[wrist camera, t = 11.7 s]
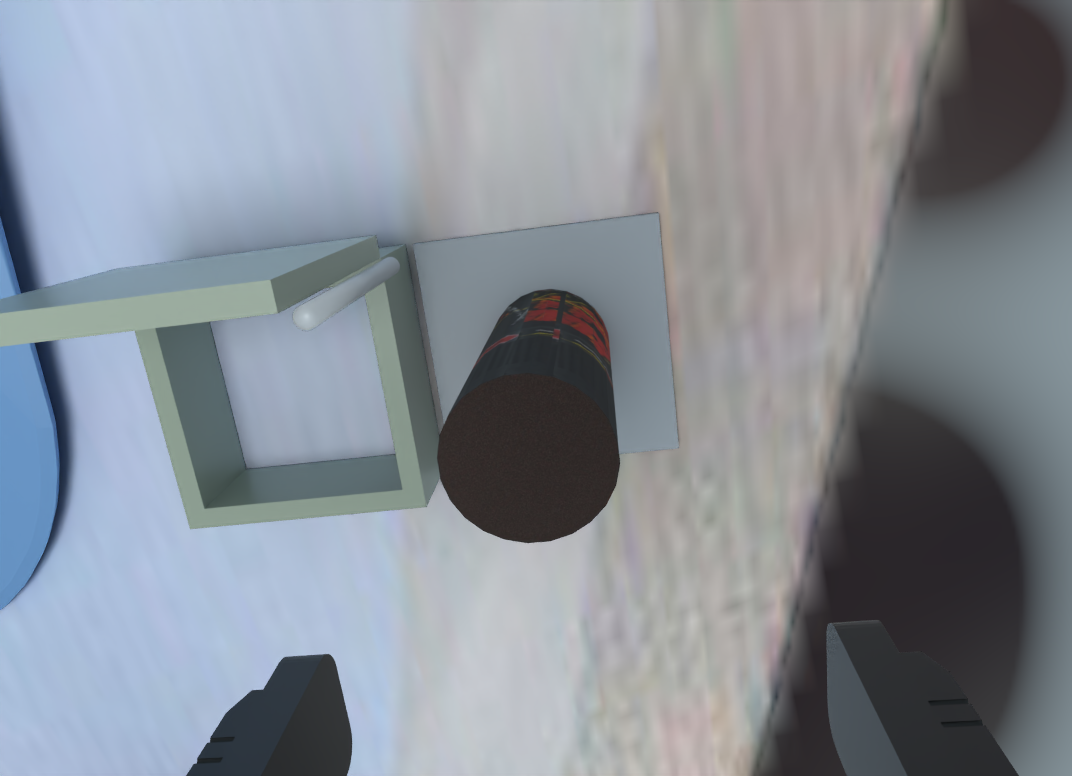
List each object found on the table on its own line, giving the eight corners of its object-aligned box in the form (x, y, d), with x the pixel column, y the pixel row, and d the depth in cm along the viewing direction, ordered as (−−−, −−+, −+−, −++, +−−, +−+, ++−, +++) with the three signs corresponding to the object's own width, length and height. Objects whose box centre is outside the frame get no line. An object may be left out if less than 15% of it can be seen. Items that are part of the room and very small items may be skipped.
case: (172, 254, 41) (-106, 326, 24) (417, 222, 39) (296, 276, 23) (233, 487, 44) (26, 685, 28) (459, 465, 43) (379, 660, 27)
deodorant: (621, 388, 40) (637, 523, 26) (509, 414, 41) (465, 558, 27) (594, 276, 39) (596, 353, 25) (478, 304, 40) (413, 396, 25)
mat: (415, 243, 40) (412, 244, 39) (657, 212, 38) (658, 213, 38) (453, 465, 43) (451, 470, 42) (677, 444, 42) (678, 448, 41)
